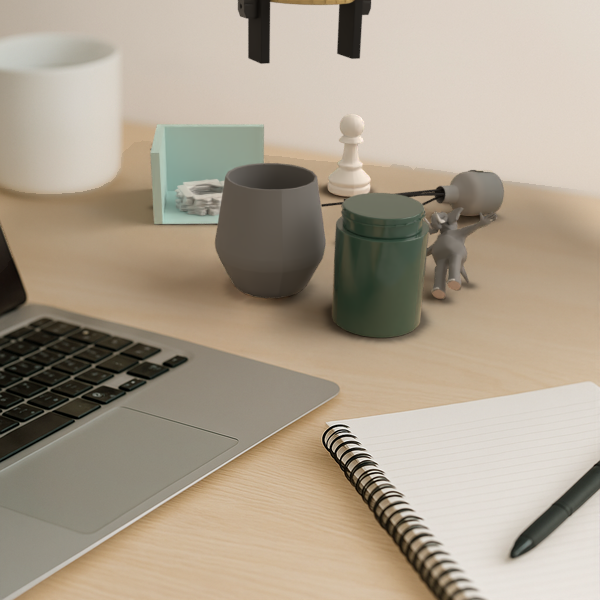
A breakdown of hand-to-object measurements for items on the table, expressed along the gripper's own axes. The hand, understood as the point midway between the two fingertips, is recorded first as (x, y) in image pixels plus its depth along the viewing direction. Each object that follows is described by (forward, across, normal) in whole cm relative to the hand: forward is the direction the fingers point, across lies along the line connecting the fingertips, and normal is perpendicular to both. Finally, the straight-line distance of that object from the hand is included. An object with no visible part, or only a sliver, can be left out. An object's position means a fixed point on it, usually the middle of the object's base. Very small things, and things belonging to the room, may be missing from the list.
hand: (304, 58), depth 69 cm
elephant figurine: (+19, +11, -8) cm, 24 cm away
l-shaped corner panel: (+19, -2, +19) cm, 27 cm away
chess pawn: (+19, +15, +18) cm, 30 cm away
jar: (+19, +1, -12) cm, 22 cm away
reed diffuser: (+19, +16, +6) cm, 26 cm away
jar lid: (-6, 0, 0) cm, 6 cm away
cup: (+19, -4, -3) cm, 20 cm away
